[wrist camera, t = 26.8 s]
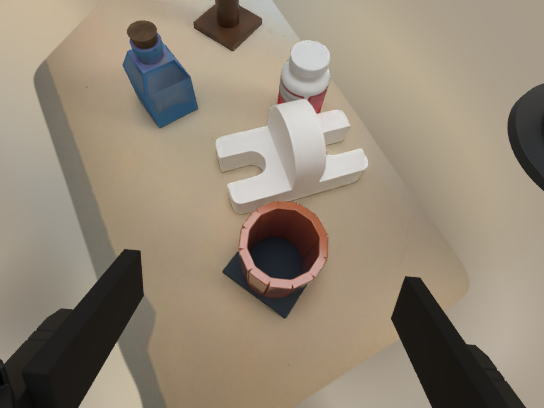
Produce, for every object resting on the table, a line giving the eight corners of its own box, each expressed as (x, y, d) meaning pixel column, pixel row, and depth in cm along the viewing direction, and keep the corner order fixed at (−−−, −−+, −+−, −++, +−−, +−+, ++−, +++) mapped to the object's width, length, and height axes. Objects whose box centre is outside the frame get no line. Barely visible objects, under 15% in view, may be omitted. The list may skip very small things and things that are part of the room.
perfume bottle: (176, 80, 47) (153, 3, 36) (197, 108, 45) (181, 37, 34) (138, 98, 45) (102, 23, 34) (159, 128, 43) (128, 60, 32)
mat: (325, 255, 39) (326, 254, 38) (284, 318, 35) (285, 318, 35) (266, 215, 40) (266, 213, 39) (222, 272, 37) (222, 271, 36)
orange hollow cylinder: (320, 255, 38) (343, 233, 29) (283, 312, 35) (296, 307, 26) (267, 219, 39) (273, 185, 30) (227, 270, 36) (220, 252, 27)
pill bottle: (316, 99, 47) (335, 37, 37) (318, 133, 45) (338, 76, 35) (276, 97, 47) (284, 33, 37) (275, 131, 45) (283, 73, 34)
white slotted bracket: (216, 153, 43) (206, 100, 33) (334, 124, 46) (359, 68, 36) (235, 216, 40) (230, 179, 29) (361, 180, 43) (396, 135, 33)
